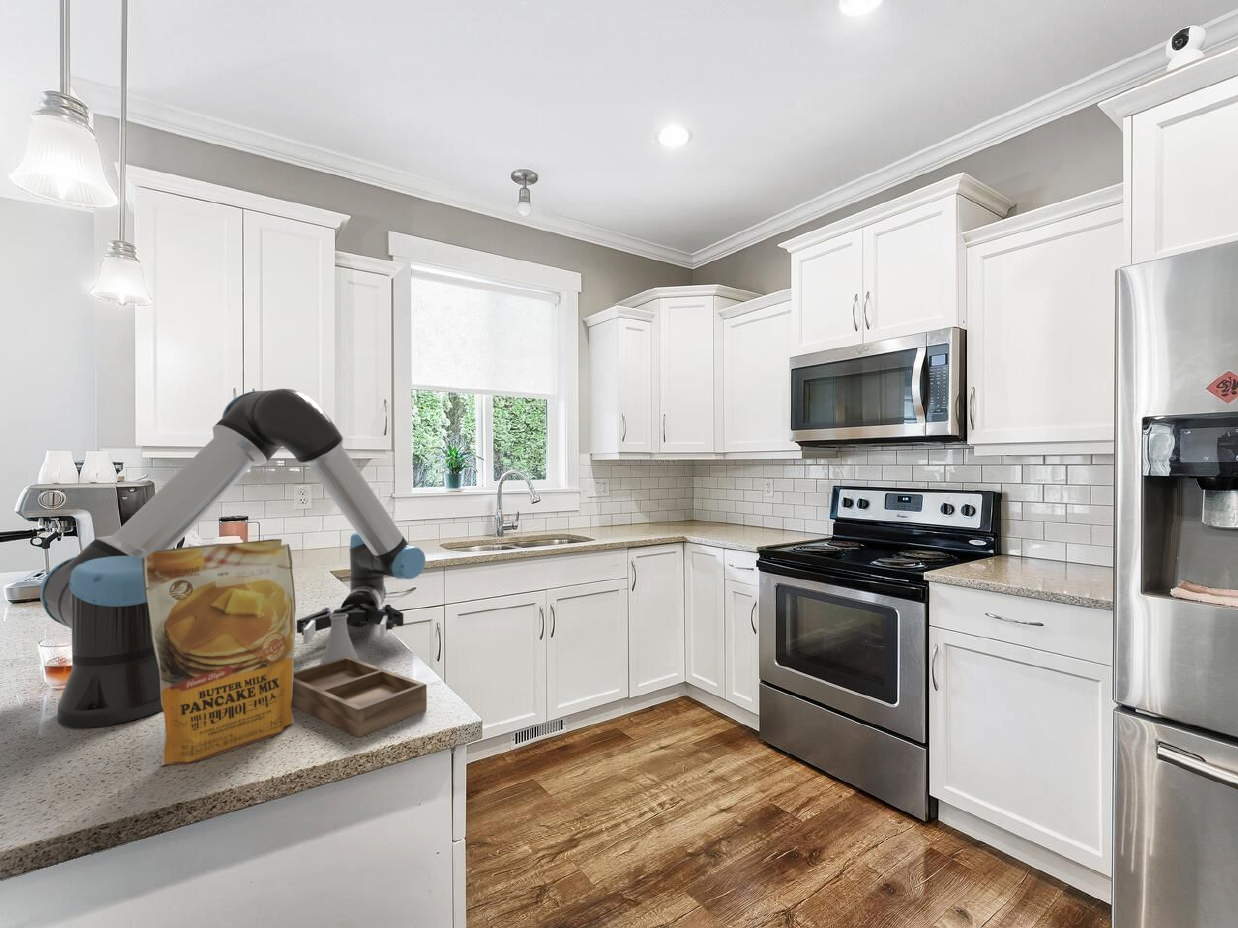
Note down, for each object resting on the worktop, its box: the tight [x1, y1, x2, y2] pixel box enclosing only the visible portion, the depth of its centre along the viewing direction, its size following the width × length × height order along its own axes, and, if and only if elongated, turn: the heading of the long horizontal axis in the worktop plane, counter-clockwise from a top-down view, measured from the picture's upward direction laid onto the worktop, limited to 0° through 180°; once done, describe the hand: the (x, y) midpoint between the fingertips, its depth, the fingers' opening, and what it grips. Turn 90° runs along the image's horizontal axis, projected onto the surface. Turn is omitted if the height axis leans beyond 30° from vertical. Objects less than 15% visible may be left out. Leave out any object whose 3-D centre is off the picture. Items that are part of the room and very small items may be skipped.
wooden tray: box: [291, 657, 428, 738], centre depth 98 cm, size 22×12×4 cm, turn 55°
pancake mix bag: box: [142, 538, 297, 767], centre depth 85 cm, size 7×19×28 cm, turn 140°
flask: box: [319, 613, 360, 665], centre depth 115 cm, size 7×7×10 cm
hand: (344, 633), depth 116 cm, fingers open, 13 cm apart
